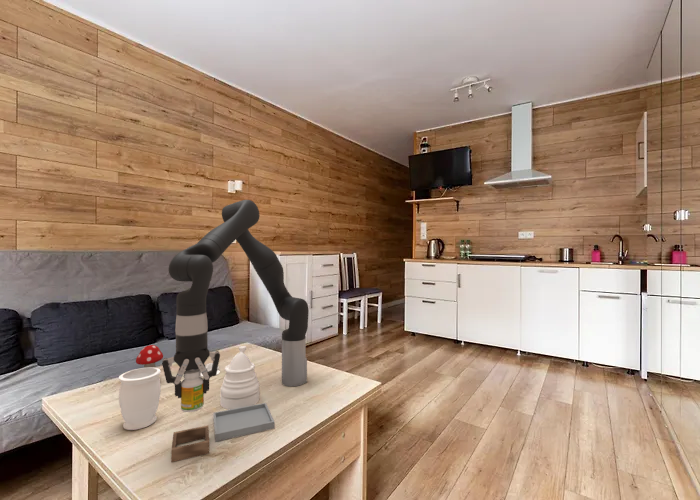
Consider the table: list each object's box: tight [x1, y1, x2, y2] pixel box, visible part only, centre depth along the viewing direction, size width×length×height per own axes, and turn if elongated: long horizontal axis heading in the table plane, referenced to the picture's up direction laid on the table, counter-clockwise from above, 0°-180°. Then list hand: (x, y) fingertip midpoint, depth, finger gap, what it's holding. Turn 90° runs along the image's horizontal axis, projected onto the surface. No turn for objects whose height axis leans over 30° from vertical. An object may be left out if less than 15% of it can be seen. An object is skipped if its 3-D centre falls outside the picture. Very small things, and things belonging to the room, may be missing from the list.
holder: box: [170, 424, 210, 463], centre depth 87 cm, size 9×9×3 cm
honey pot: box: [219, 345, 261, 410], centre depth 114 cm, size 13×13×18 cm
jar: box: [118, 367, 162, 431], centre depth 99 cm, size 11×10×15 cm
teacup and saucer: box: [200, 362, 221, 378], centre depth 139 cm, size 9×8×4 cm
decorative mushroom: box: [135, 344, 164, 368], centre depth 127 cm, size 10×9×15 cm
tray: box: [212, 402, 275, 443], centre depth 99 cm, size 16×13×2 cm
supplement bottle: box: [180, 369, 205, 413], centre depth 87 cm, size 5×5×10 cm
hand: (192, 394), depth 87 cm, fingers closed on supplement bottle, 5 cm apart
